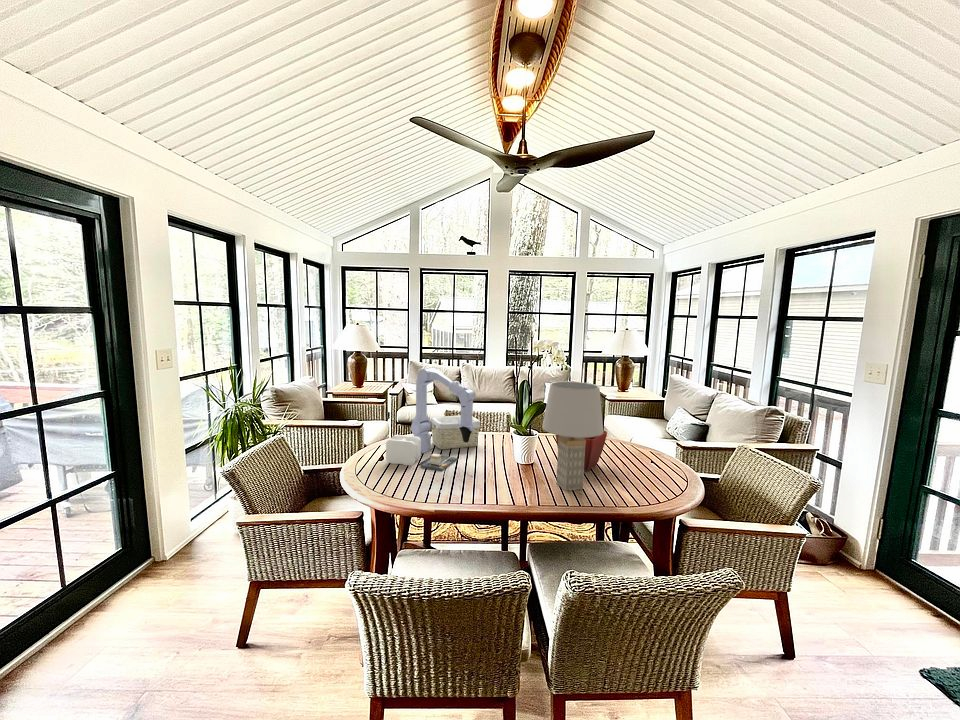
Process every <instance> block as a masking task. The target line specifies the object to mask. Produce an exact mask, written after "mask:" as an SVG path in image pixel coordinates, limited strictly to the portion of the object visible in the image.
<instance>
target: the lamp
mask: <svg viewBox="0 0 960 720" xmlns="http://www.w3.org/2000/svg"><path fill="white" fill-rule="evenodd" d="M541 429H542V430H543V431H545V432H547V433H549V434H551V435H555V436H556V435H560V436H558V447H557V465H556V467H557V468H556V485H558V486H559V487H560V488H562V489H563V490H564V492H568V491H567V490H569V491H577V490H576V489H580V490H583V489H584V477H585V474H584V472H585V471H584V458H585V445H586V440H585V439H583V438H587V437H596V436H600V435H602V434H603V431H604V425H603V413H602V403H601V392H600V386H599V385H597V384H594V383H589V382H581V381H554V382H553V381H552V382H551V383H550V385H549V390H548V396H547V400H546V405H545V410H544V415H543V420H542V427H541ZM562 489H561V490H562Z"/></svg>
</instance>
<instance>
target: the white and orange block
mask: <svg viewBox="0 0 960 720" xmlns="http://www.w3.org/2000/svg"><path fill="white" fill-rule="evenodd" d="M441 455H442V454H441V453H440V454H438V453H432V454H430V456H429V457H430V458H431V459H430V464H436V465H439V464H440V463H441Z"/></svg>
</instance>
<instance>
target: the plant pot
mask: <svg viewBox="0 0 960 720" xmlns="http://www.w3.org/2000/svg"><path fill="white" fill-rule="evenodd" d="M607 435H608V431H606V430H603V434H602V435H600V436H596V437H587V438H583V439H585V440H586V445H585V458H584V472H588V471H589V469H590V470H591V469H593V468H594V467H595V466H597V464H598V463H599V462H600V461H599V460H600V458H601V455H602V453H603V450H604V446H605V443H606V440H607ZM558 436H560V435H555V439H556V440H555V441H556V447H557V448H558ZM592 467H593V468H592Z"/></svg>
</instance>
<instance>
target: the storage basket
mask: <svg viewBox="0 0 960 720" xmlns="http://www.w3.org/2000/svg"><path fill="white" fill-rule="evenodd" d="M458 420H461V414H459V415H448V416H447V415H443V416H433V417H431V418H430V423H431V436H432V437H431V442H432V443H433V445H435V446H436V448H438V449H439V450H448V449H450V450H451V449H457V448H459V449H462V448H463V449H465V448H469V447H470V448H471V447H472V448H473V447H477V446H478V439H479V433H480V427H481V420H479V419H478V418H476V417H475V416H473V415H472V423H473V426H474V427H475V431H472V432H471V435H470V438H469V441H468V442H463V438H462V433H461V431H460V429H459V428H460V427H462V426H459V425H458Z"/></svg>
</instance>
